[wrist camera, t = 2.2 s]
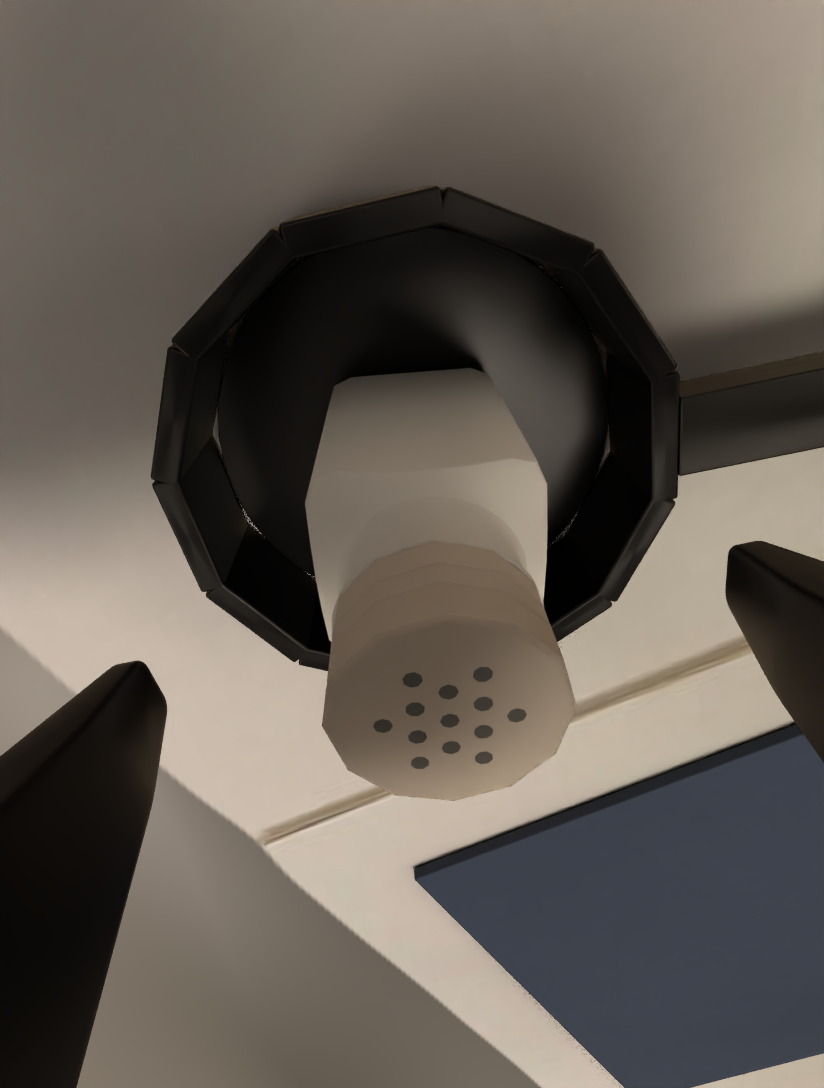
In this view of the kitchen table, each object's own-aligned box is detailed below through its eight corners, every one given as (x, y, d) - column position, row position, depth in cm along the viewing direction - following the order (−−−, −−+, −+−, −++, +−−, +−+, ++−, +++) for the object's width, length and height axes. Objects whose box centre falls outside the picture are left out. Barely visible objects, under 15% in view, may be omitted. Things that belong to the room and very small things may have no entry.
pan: (275, 644, 19) (258, 716, 17) (116, 260, 14) (52, 277, 11) (945, 517, 18) (1041, 573, 15) (1079, 29, 12) (1268, -13, 10)
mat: (413, 867, 25) (414, 879, 25) (860, 699, 21) (870, 709, 21) (635, 1091, 38) (637, 1101, 38) (940, 1011, 34) (947, 1021, 34)
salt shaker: (492, 359, 15) (627, 574, 7) (492, 506, 17) (595, 810, 9) (327, 372, 15) (258, 604, 7) (347, 517, 17) (314, 832, 9)
